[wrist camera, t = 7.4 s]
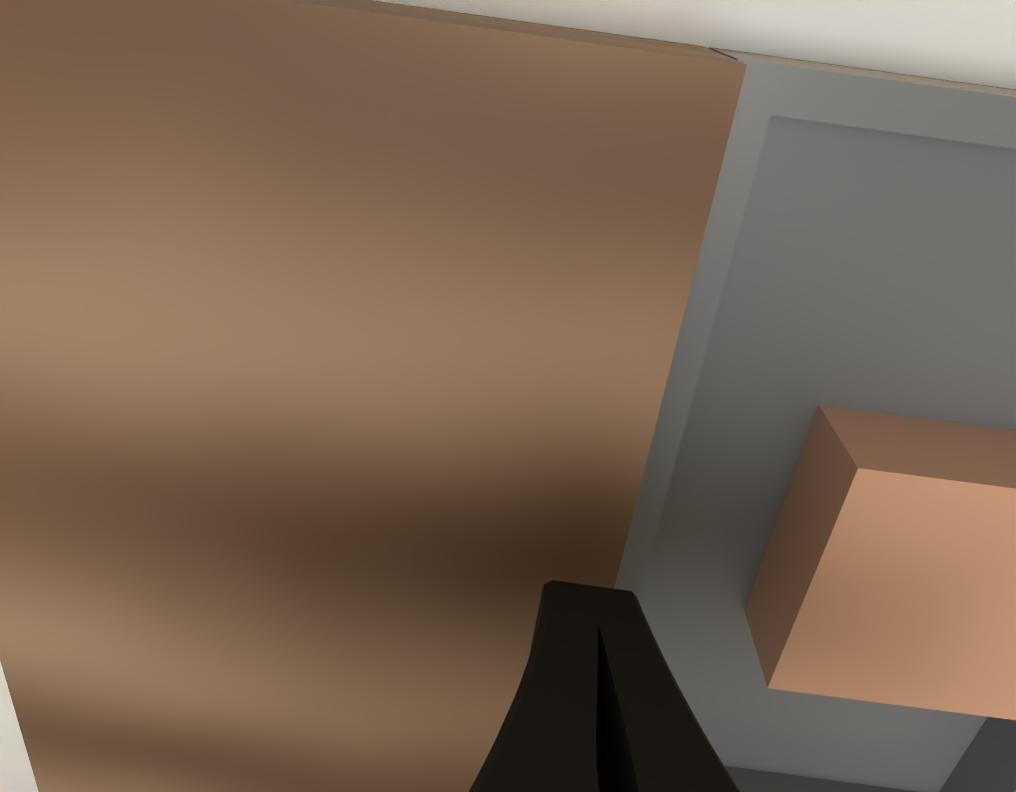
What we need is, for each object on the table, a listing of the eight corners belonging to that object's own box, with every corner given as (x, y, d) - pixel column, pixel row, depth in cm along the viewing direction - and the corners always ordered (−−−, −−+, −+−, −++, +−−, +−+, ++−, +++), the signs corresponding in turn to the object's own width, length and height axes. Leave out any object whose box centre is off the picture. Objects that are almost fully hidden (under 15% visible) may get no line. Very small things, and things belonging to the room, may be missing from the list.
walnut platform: (546, 740, 19) (544, 862, 16) (112, 683, 19) (40, 796, 16) (702, 46, 11) (747, 64, 9) (-31, -56, 11) (-214, -68, 8)
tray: (942, 793, 19) (982, 875, 17) (550, 741, 19) (550, 818, 17) (1369, 138, 11) (1519, 166, 10) (709, 47, 11) (737, 58, 9)
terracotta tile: (768, 688, 14) (744, 610, 16) (1032, 722, 14) (979, 641, 16) (858, 468, 12) (818, 404, 13) (1177, 509, 12) (1096, 440, 13)
